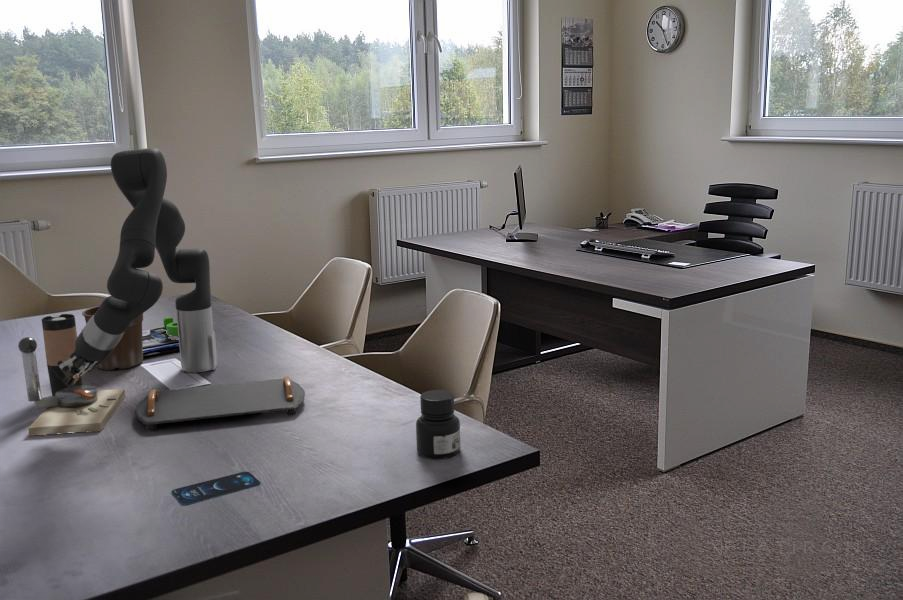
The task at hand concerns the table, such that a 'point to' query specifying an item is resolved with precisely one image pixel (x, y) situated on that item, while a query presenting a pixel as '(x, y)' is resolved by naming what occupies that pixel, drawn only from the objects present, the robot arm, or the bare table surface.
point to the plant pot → (123, 345)
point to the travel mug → (59, 347)
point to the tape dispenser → (170, 326)
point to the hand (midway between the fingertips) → (68, 383)
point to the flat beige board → (79, 415)
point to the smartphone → (215, 488)
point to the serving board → (219, 401)
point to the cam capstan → (63, 397)
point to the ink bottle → (437, 425)
